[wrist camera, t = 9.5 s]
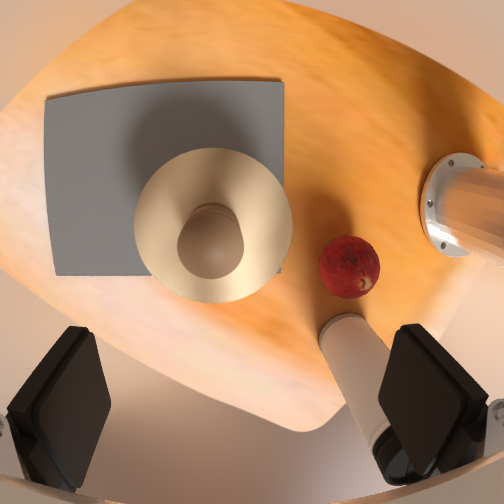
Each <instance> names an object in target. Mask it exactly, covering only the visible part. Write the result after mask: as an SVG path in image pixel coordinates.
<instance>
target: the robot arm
mask: <svg viewBox="0 0 504 504" xmlns="http://www.w3.org/2000/svg"><path fill="white" fill-rule="evenodd" d="M420 216H421V222H422V227H423V230H424V233H425V235H426V237H427V239H428V241H429V242H430V244H431V245H432V246H433V247H434V248H435V249H436V250H438V251H439V252H440V253H442V254H444V255H446V256H450V257H463V256H466V255H468V254H470V253H473V254H475V255H477V256H479V257H481V258H483V259H485V260H487V261H489V262H491V263H493V264H495V265H497V266H499V267H501V268H503V269H504V171H498V170H491V169H487V167H486V166H485V165H484V164H483V162H482V161H481V160H480V159H478V158H477V157H475V156H474V155H471V154H468V153H452V154H449V155H446V156H445V157H443V158H442V159H440V160H439V161H438V162H437V163H436V164H435V165H434V166H433V168H432V169H431V171H430V173H429V174H428V176H427V179H426V181H425V183H424V187H423V190H422V194H421V203H420ZM488 397H489V395H488V394H487V393H486V392H485V391H484V390H483V389H482V388H481V387H480V385H479V384H478V383H477V382H476V381H475V380H474V379H473V378H472V377H471V376H470V375H469V374H468V373H467V372H466V371H465V369H464V368H463V367H462V366H461V365H460V364H459V363H458V362H457V361H456V360H455V359H454V358H453V357H452V356H451V355H450V354H449V353H448V352H447V351H446V350H445V349H444V348H443V347H442V346H441V345H440V344H439V343H438V342H437V341H436V340H435V339H434V338H433V337H432V336H431V335H430V334H429V333H428V332H427V331H426V330H425V329H424V328H423V327H422V326H421V325H420V324H407V325H402V326H401V328H400V330H397V331H396V333H395V337H394V341H393V345H392V348H391V352H390V356H389V360H388V363H387V367H386V370H385V374H384V377H383V380H382V384H381V387H380V390H379V393H378V402H379V405H380V406H381V408H382V410H383V412H384V414H385V415H386V417H387V419H388V421H389V423H390V424H391V426H392V428H393V430H394V432H395V434H396V436H397V437H398V439H399V441H400V443H401V445H402V447H403V448H404V450H405V452H406V454H407V456H408V458H409V460H410V462H411V463H412V465H413V467H414V469H415V471H416V473H417V474H418V475H420V476H421V475H422V477H423V479H424V480H423V481H420V482H417V483H414V484H411V485H407V486H404V487H401V488H397V489H394V490H390V491H386V492H382V493H378V494H375V495H370V496H366V497H361V498H357V499H352V500H347V501H341V502H337V503H331V504H504V399H497V400H494V401H492V402H491V404H490V405H489V406H487V405H486V400H487V398H488ZM110 408H111V399H110V395H109V392H108V388H107V384H106V381H105V377H104V374H103V370H102V366H101V362H100V358H99V354H98V349H97V345H96V341H95V336H94V334H93V333H92V332H89V330H88V328H86V327H78V326H69V327H68V328H67V329H66V330H65V332H64V333H63V334H62V335H61V337H60V338H59V339H58V340H57V341H56V343H55V344H54V345H53V346H52V348H51V349H50V350H49V352H48V353H47V354H46V355H45V357H44V358H43V359H42V361H41V362H40V363H39V365H38V366H37V367H36V368H35V370H34V371H33V372H32V374H31V375H30V376H29V378H28V379H27V380H26V382H25V383H24V385H23V386H22V387H21V389H20V390H19V391H18V393H17V394H16V396H15V397H14V398H13V400H12V401H11V403H10V404H9V405H8V407H7V410H8V414H7V415H6V417H4V416H3V415H2V414H0V504H123V503H118V502H112V501H107V500H102V499H97V498H92V497H88V496H83V495H79V494H75V491H76V488H80V487H81V486H82V485H83V482H84V479H85V476H86V473H87V470H88V467H89V465H90V462H91V459H92V456H93V453H94V451H95V448H96V445H97V442H98V440H99V437H100V434H101V432H102V429H103V427H104V424H105V421H106V419H107V416H108V414H109V411H110Z"/></svg>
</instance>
